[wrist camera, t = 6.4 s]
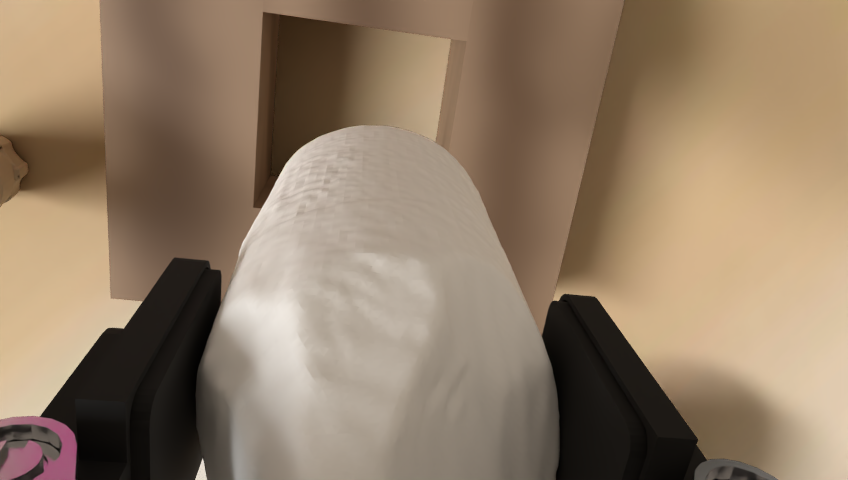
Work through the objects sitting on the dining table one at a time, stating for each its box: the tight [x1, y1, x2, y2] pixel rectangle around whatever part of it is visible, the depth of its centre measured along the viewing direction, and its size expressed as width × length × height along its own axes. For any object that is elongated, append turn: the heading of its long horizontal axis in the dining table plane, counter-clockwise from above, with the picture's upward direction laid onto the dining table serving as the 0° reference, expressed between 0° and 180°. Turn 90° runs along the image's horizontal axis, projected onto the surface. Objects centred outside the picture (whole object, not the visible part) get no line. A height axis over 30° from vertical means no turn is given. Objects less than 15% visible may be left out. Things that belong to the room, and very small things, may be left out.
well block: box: [100, 0, 625, 336], centre depth 29 cm, size 20×18×5 cm
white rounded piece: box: [195, 125, 560, 480], centre depth 11 cm, size 6×12×6 cm
